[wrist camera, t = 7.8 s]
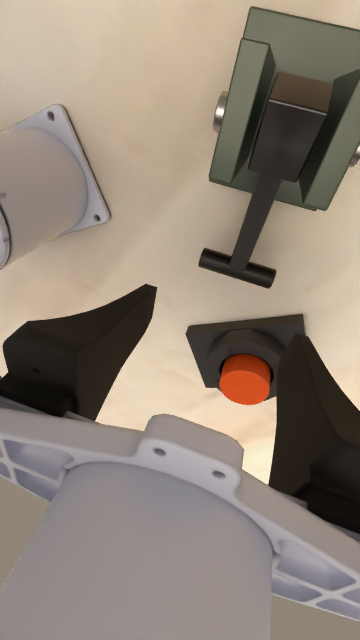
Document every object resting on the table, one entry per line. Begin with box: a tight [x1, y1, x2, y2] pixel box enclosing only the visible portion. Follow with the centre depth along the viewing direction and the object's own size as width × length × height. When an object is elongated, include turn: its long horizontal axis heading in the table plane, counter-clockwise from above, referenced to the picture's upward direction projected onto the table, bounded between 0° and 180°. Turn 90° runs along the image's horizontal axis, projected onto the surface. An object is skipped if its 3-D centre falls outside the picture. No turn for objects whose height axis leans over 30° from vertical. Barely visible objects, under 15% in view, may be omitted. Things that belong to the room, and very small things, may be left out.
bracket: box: [209, 6, 360, 211], centre depth 14 cm, size 8×7×8 cm
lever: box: [199, 71, 333, 289], centre depth 16 cm, size 11×5×2 cm, turn 167°
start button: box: [219, 354, 270, 405], centre depth 25 cm, size 4×4×2 cm
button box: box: [186, 315, 306, 401], centre depth 27 cm, size 10×7×3 cm
